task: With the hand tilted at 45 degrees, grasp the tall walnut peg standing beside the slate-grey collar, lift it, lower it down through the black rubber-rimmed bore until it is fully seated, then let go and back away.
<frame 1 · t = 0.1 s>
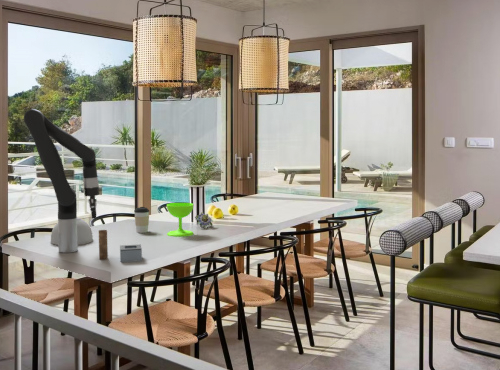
hand: (94, 217, 296), 17 cm above the table, tool pointing down, fingers open, 8 cm apart
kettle: (72, 241, 321), on the table
wineglass: (180, 234, 340), on the table
collar: (130, 259, 277), on the table
passion flower: (203, 227, 362), on the table
walnut peg: (103, 258, 278), on the table
coffee cup: (142, 232, 347), on the table
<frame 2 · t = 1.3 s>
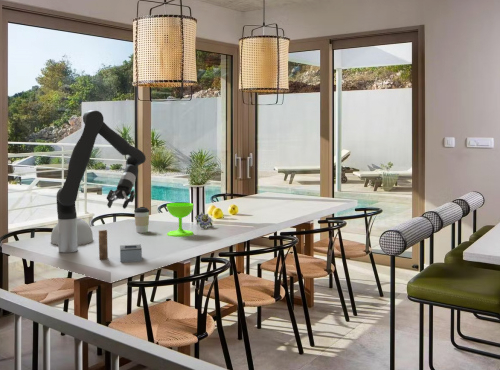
hand: (116, 207, 288), 23 cm above the table, tool tilted 45°, fingers open, 8 cm apart
nothing on the table moved.
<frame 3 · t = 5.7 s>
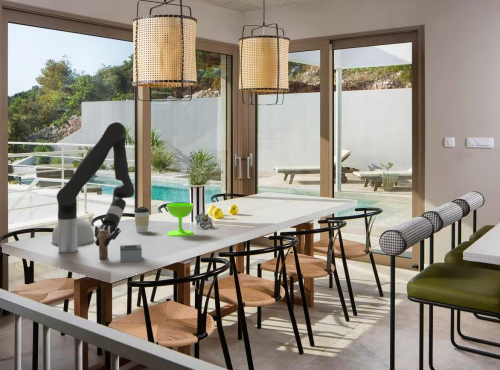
hand: (101, 245, 275), 7 cm above the table, tool tilted 45°, fingers closed on walnut peg, 4 cm apart
walnut peg: (103, 258, 278), on the table, touching gripper
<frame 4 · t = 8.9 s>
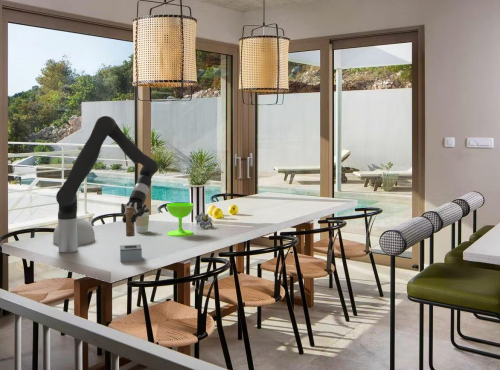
hand: (128, 222, 273), 19 cm above the table, tool tilted 45°, fingers closed on walnut peg, 4 cm apart
walnut peg: (130, 235, 276), point 12 cm above the table, touching gripper
when the fingers open (8 cm above the table, at t = 12.0 s): walnut peg stays where it is, resting in collar.
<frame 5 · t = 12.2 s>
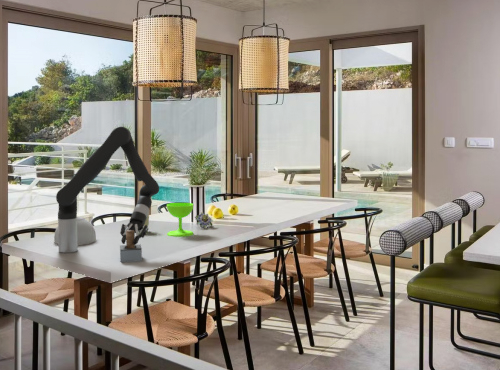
hand: (128, 243, 274), 8 cm above the table, tool tilted 45°, fingers open, 5 cm apart
walnut peg: (130, 259, 277), resting in collar
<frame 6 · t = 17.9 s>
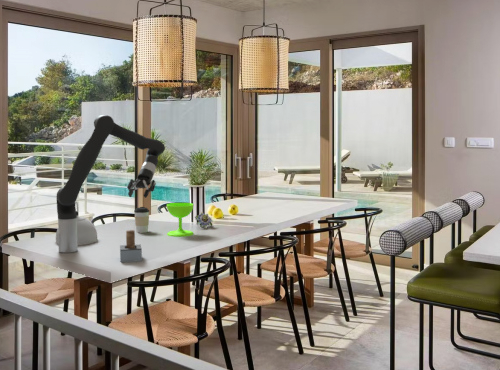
hand: (137, 196, 291), 29 cm above the table, tool tilted 45°, fingers open, 8 cm apart
at the end: walnut peg 0.1 cm off-centre on the collar, point 0.0 cm above the collar's base; walnut peg tilted 0°; the gripper is holding nothing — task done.
